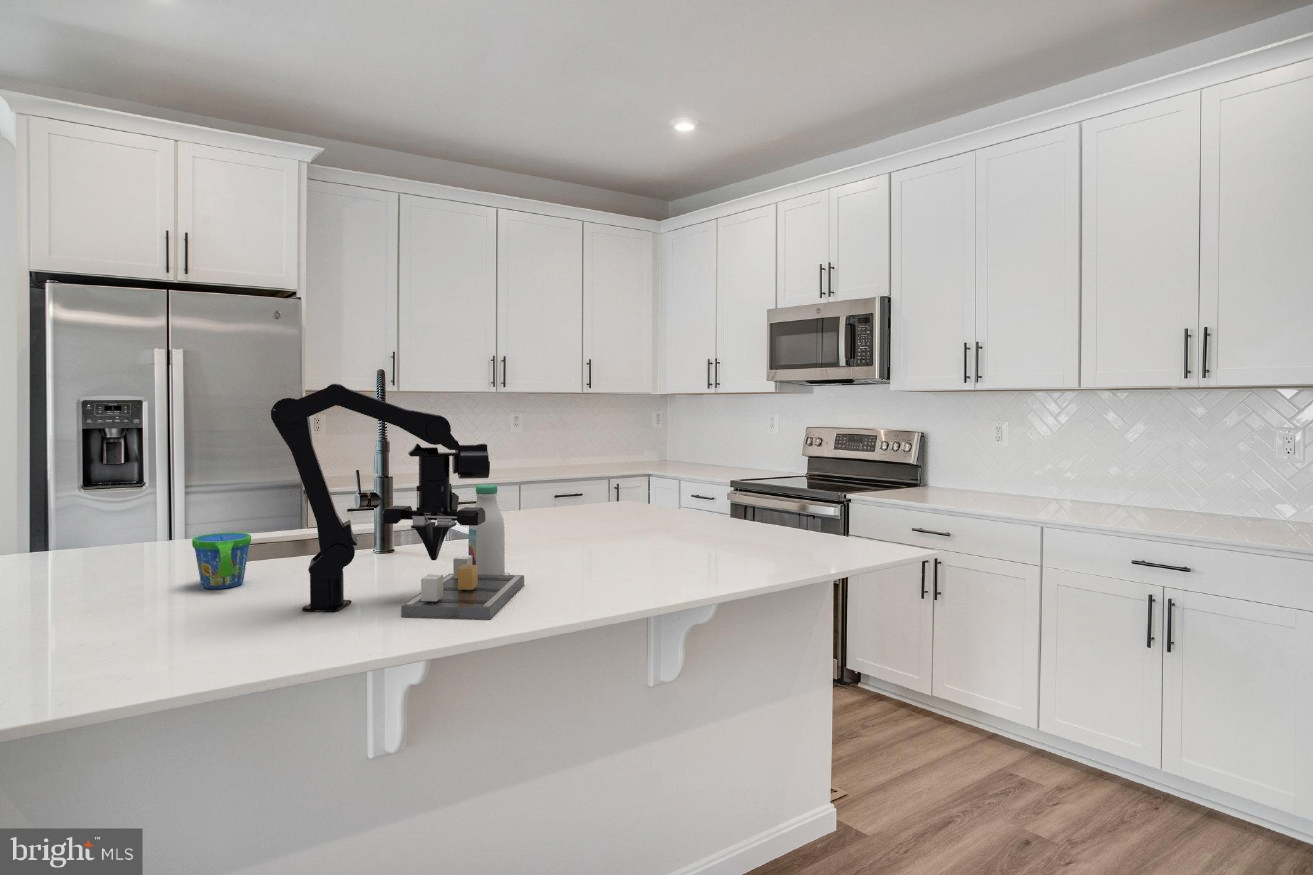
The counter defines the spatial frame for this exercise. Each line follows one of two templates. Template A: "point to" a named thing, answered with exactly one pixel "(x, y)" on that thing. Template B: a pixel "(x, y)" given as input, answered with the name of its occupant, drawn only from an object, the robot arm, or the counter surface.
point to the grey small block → (431, 587)
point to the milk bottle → (488, 534)
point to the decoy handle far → (460, 563)
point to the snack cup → (221, 559)
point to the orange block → (467, 577)
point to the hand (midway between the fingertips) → (434, 559)
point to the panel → (467, 598)
